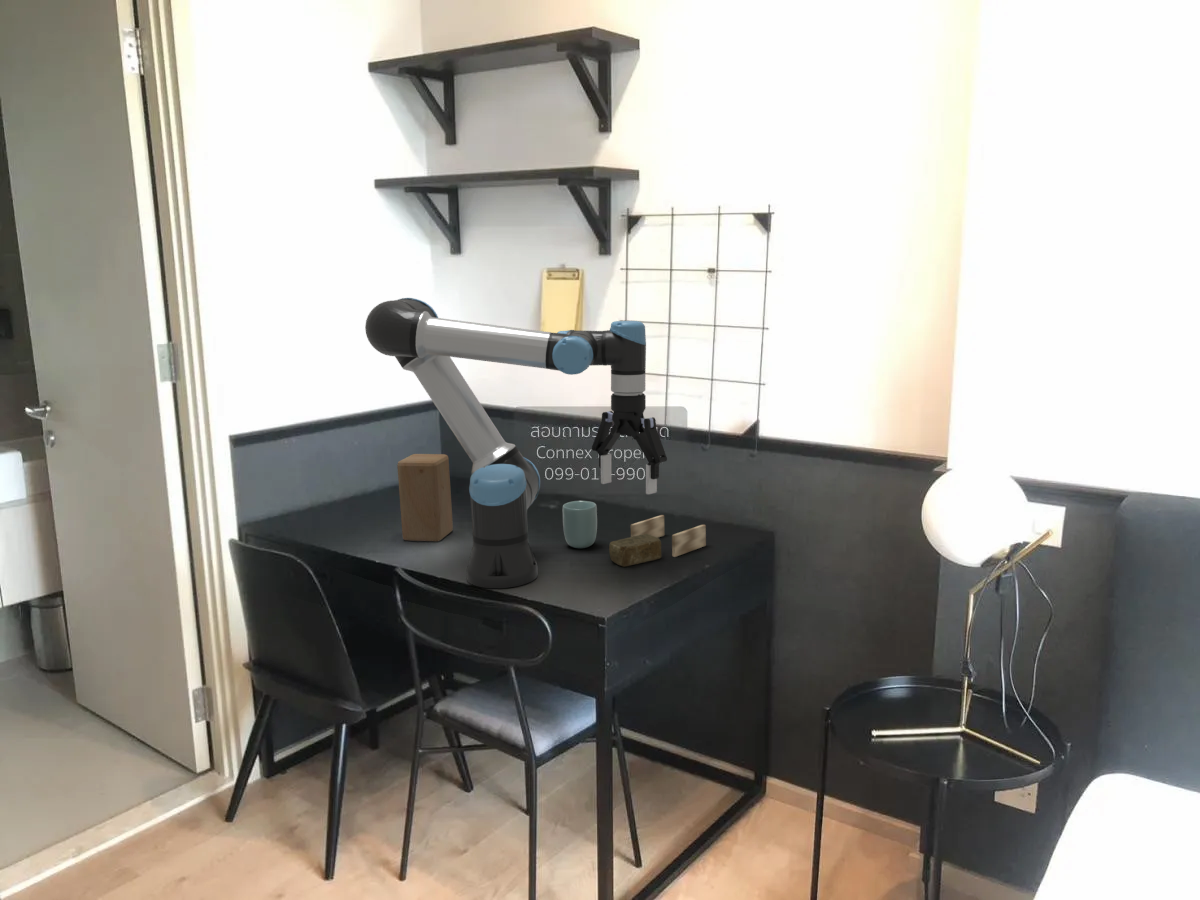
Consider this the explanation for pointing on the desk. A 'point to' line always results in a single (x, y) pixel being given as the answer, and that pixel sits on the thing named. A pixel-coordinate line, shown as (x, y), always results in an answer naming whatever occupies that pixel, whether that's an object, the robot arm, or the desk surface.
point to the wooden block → (425, 497)
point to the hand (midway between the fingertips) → (628, 488)
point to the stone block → (635, 550)
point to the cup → (580, 523)
